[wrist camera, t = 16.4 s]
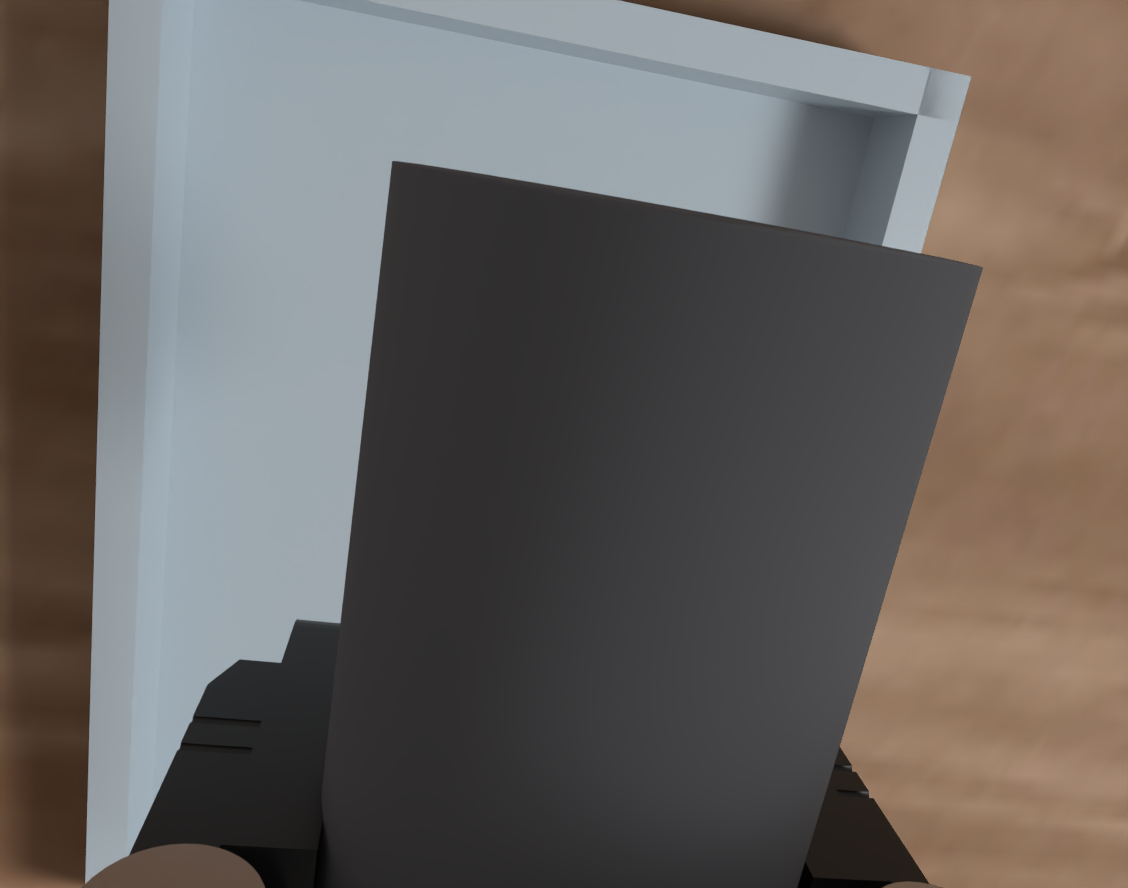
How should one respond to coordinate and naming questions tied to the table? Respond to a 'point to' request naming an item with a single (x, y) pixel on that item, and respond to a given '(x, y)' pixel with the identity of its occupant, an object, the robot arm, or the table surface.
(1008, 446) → the table surface
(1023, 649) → the table surface
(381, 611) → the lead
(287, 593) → the tray
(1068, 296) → the table surface
